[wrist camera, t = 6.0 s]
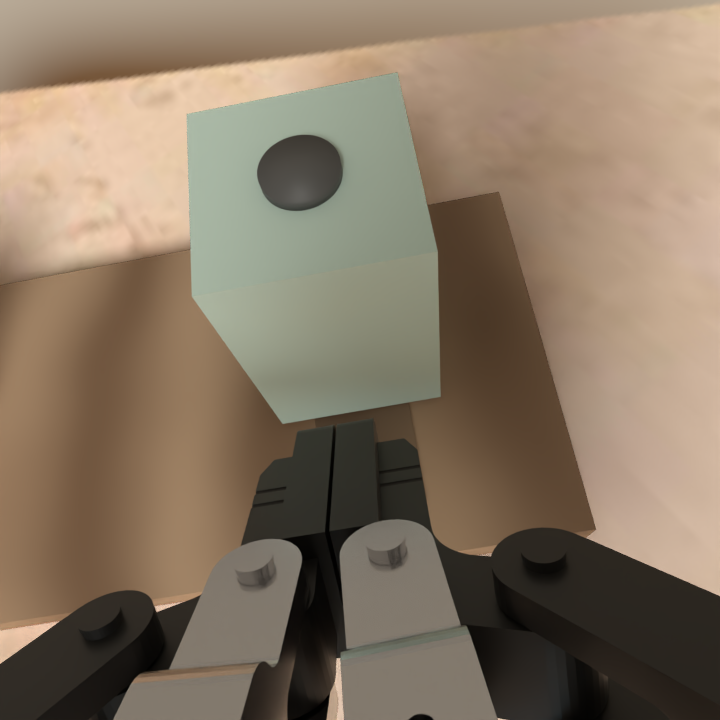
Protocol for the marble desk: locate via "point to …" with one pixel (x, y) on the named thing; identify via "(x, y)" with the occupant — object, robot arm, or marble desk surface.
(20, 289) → the tile board
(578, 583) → the robot arm
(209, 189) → the tile one
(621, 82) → the marble desk surface
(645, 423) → the marble desk surface
